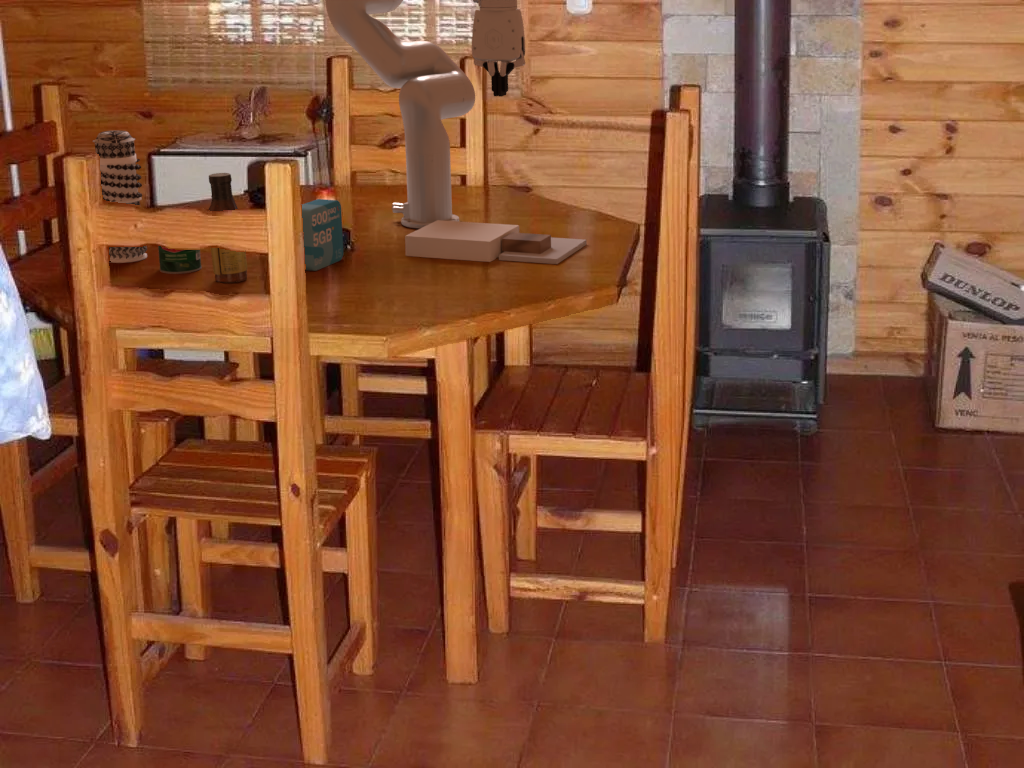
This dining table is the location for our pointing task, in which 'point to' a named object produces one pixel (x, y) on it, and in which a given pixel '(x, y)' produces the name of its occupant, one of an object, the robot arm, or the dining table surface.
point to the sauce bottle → (224, 261)
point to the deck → (459, 240)
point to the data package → (322, 233)
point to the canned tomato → (179, 260)
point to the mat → (548, 252)
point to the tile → (526, 243)
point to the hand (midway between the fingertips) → (500, 95)
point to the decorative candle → (120, 182)
